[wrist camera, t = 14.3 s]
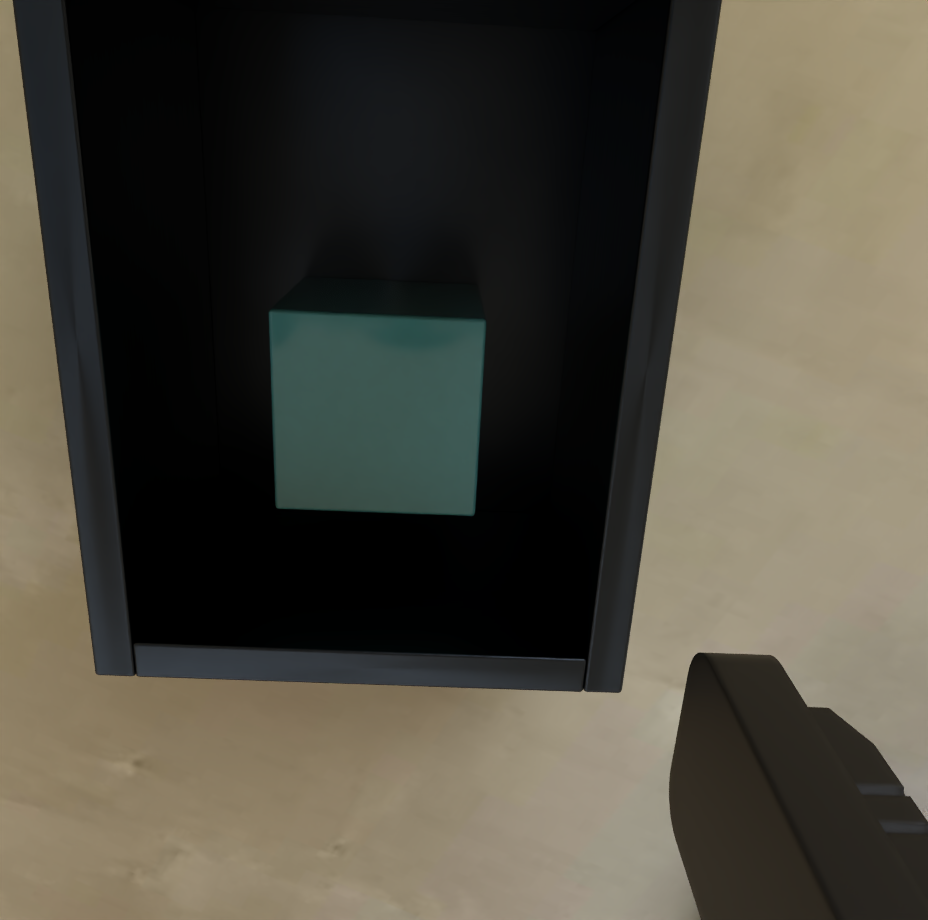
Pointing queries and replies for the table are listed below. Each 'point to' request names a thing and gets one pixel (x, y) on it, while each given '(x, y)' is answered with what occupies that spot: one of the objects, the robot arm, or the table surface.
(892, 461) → the table surface
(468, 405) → the block
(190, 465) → the black hinged case
